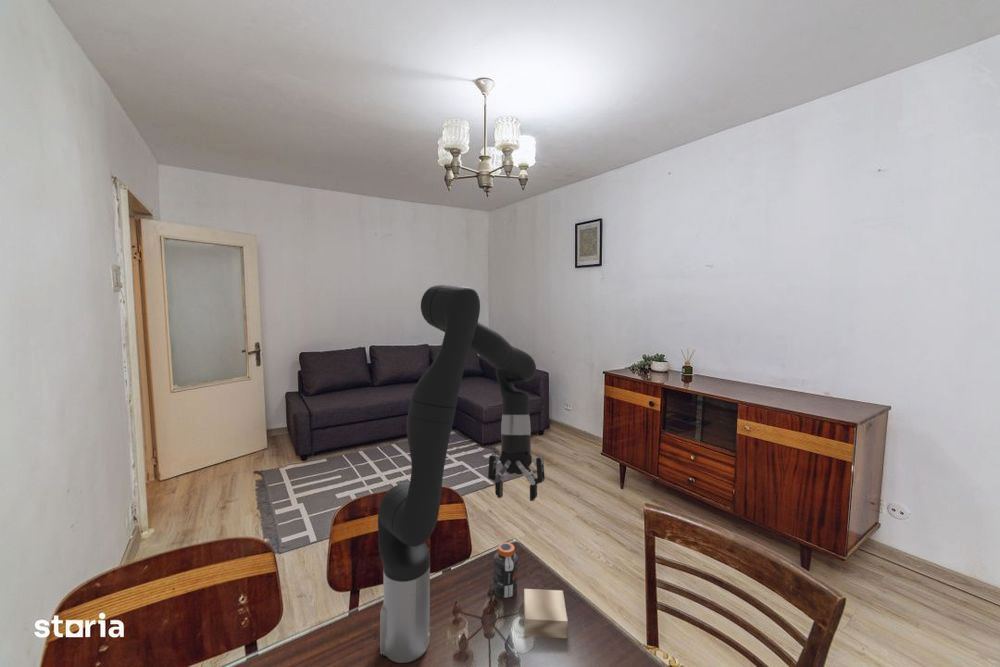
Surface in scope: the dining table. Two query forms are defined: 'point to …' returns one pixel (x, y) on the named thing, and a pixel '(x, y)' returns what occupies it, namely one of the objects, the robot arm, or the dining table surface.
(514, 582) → the pill bottle
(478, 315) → the robot arm
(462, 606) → the dining table surface
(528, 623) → the maple block
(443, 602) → the dining table surface
